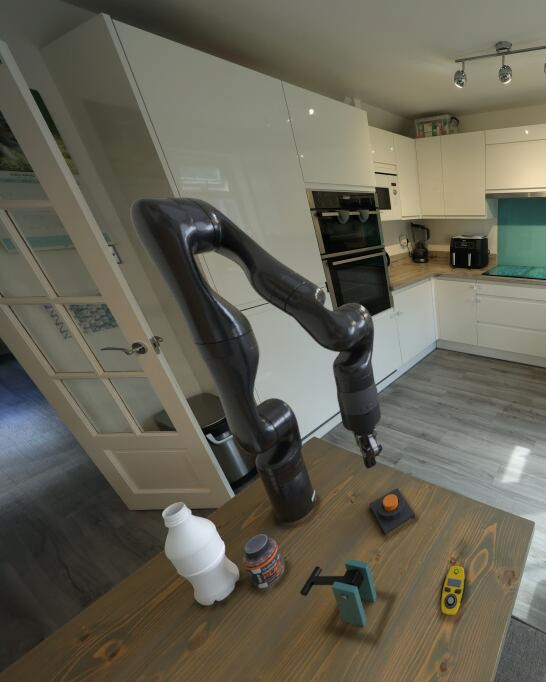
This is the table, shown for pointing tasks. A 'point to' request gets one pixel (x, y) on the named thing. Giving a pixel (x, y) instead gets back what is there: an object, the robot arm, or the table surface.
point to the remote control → (452, 590)
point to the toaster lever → (332, 579)
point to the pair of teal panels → (354, 594)
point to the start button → (390, 502)
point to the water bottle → (199, 554)
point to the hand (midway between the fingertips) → (370, 465)
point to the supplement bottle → (263, 561)
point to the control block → (392, 512)
